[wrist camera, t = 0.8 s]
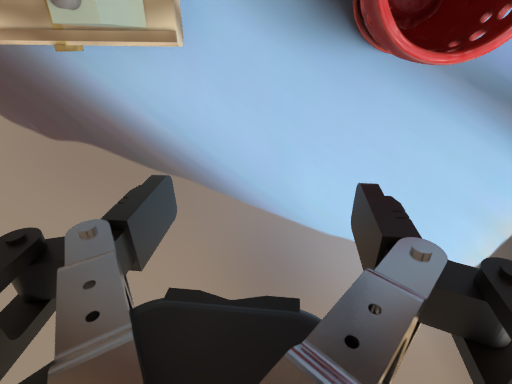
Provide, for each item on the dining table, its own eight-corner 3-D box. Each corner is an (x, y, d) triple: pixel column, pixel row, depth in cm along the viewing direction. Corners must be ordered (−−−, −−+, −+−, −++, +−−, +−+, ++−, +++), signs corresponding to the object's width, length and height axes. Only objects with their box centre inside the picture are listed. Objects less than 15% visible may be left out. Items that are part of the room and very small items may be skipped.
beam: (-23, -29, 34) (-110, -48, 27) (188, -32, 32) (157, -54, 24) (4, 48, 38) (-65, 50, 31) (195, 51, 35) (169, 53, 28)
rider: (101, -16, 28) (23, -38, 20) (140, -16, 28) (77, -39, 19) (109, 27, 30) (41, 22, 22) (146, 27, 29) (91, 22, 21)
